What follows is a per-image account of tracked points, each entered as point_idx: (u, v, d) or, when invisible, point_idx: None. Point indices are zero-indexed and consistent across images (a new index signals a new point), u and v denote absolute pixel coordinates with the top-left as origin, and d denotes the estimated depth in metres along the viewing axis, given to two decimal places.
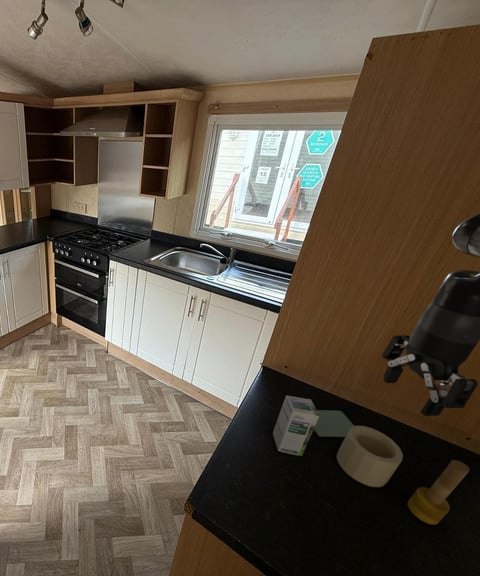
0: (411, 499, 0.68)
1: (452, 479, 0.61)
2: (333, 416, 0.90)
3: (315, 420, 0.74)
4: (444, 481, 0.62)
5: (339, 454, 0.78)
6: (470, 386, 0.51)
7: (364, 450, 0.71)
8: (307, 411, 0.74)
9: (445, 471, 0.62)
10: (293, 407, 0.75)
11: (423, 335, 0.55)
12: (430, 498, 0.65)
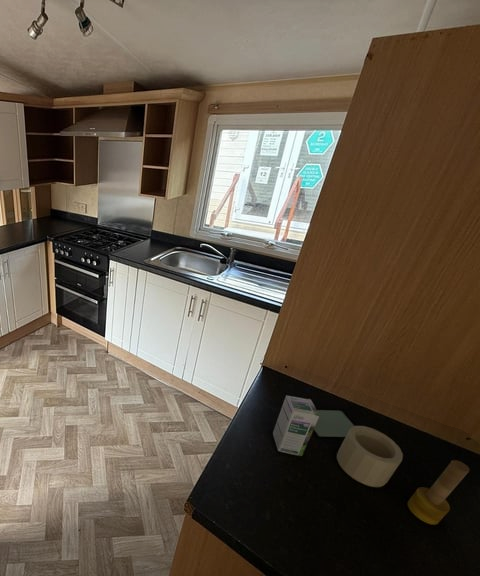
0: (411, 499, 0.68)
1: (452, 479, 0.61)
2: (333, 416, 0.90)
3: (315, 420, 0.74)
4: (444, 481, 0.62)
5: (339, 454, 0.78)
6: None
7: (364, 450, 0.71)
8: (307, 411, 0.74)
9: (445, 471, 0.62)
10: (293, 407, 0.75)
11: None
12: (430, 498, 0.65)
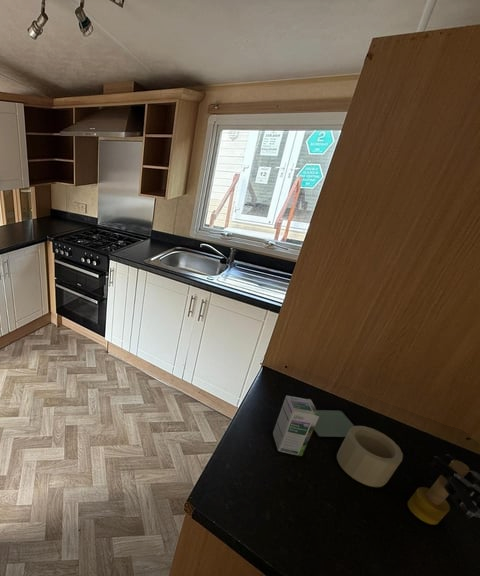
0: (411, 499, 0.68)
1: None
2: (333, 416, 0.90)
3: (315, 420, 0.74)
4: (444, 481, 0.62)
5: (339, 454, 0.78)
6: None
7: (364, 450, 0.71)
8: (307, 411, 0.74)
9: None
10: (293, 407, 0.75)
11: None
12: (430, 498, 0.65)
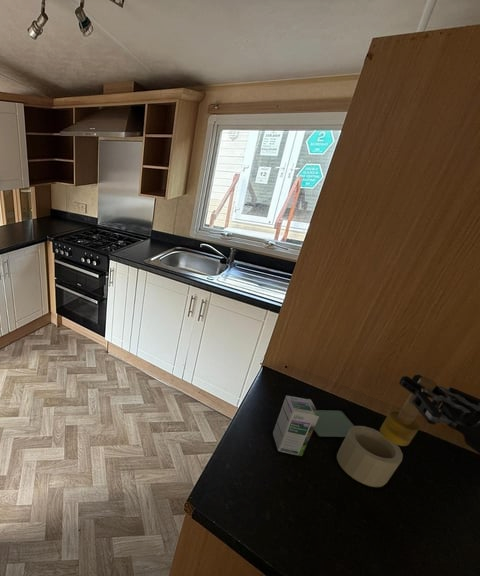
0: (383, 423, 0.69)
1: None
2: (333, 416, 0.90)
3: (315, 420, 0.74)
4: None
5: (339, 454, 0.78)
6: None
7: (364, 450, 0.71)
8: (307, 411, 0.74)
9: None
10: (293, 407, 0.75)
11: None
12: (400, 419, 0.66)
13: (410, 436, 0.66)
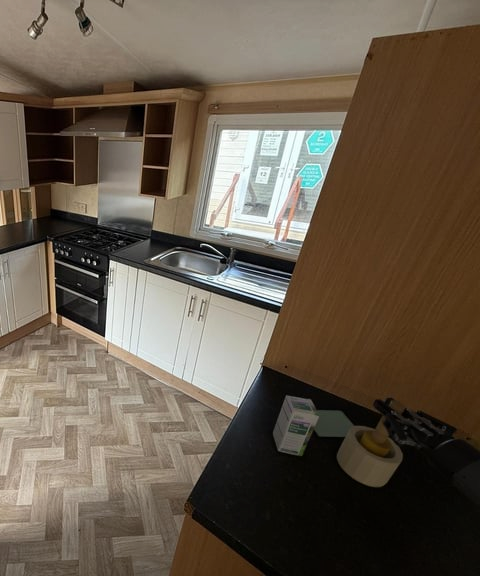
0: (359, 441, 0.75)
1: None
2: (333, 416, 0.90)
3: (315, 420, 0.74)
4: None
5: (339, 454, 0.78)
6: None
7: (364, 450, 0.71)
8: (307, 411, 0.74)
9: None
10: (293, 407, 0.75)
11: None
12: (374, 438, 0.72)
13: (383, 454, 0.71)
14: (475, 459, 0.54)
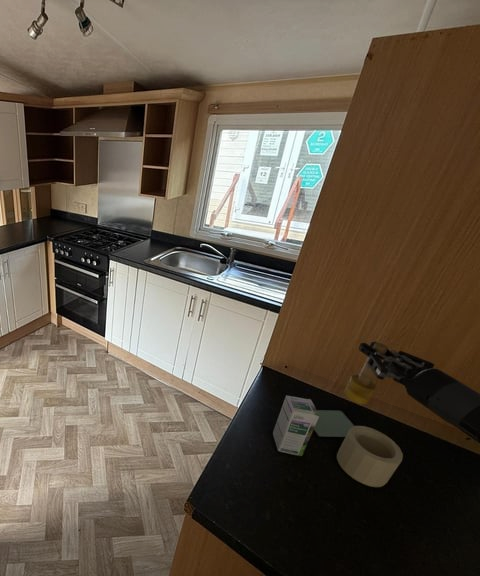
0: (347, 385, 0.80)
1: None
2: (333, 416, 0.90)
3: (315, 420, 0.74)
4: None
5: (339, 454, 0.78)
6: None
7: (364, 450, 0.71)
8: (307, 411, 0.74)
9: None
10: (293, 407, 0.75)
11: None
12: (360, 380, 0.77)
13: (368, 395, 0.76)
14: (448, 382, 0.59)
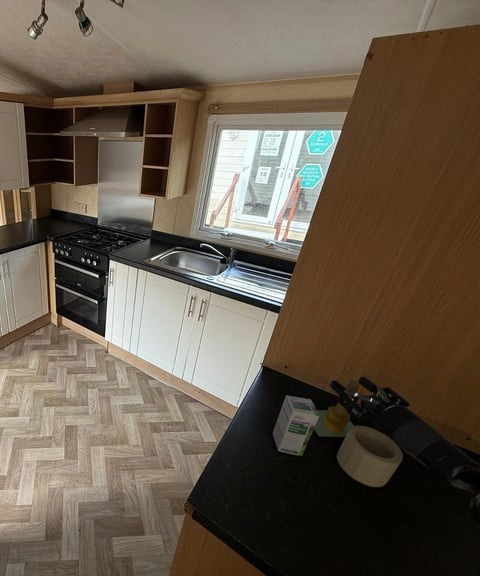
0: (324, 416, 0.88)
1: None
2: None
3: (315, 420, 0.74)
4: None
5: (339, 454, 0.78)
6: None
7: (364, 450, 0.71)
8: (307, 411, 0.74)
9: None
10: (293, 407, 0.75)
11: None
12: (336, 412, 0.85)
13: (343, 425, 0.84)
14: (409, 419, 0.67)
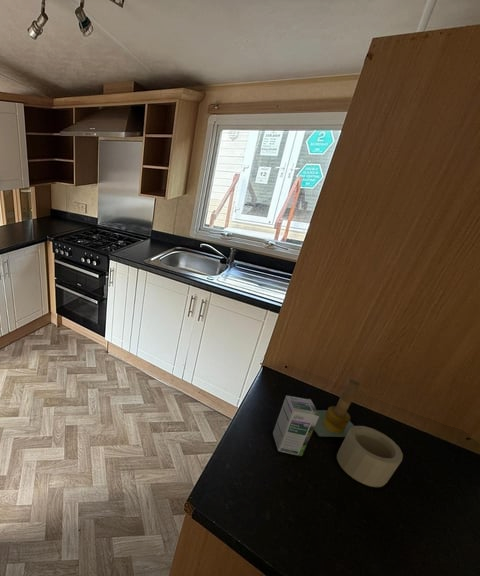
0: (324, 416, 0.88)
1: (348, 393, 0.81)
2: None
3: (315, 420, 0.74)
4: (344, 396, 0.82)
5: (339, 454, 0.78)
6: None
7: (364, 450, 0.71)
8: (307, 411, 0.74)
9: None
10: (293, 407, 0.75)
11: None
12: (336, 412, 0.85)
13: (343, 425, 0.84)
14: None
